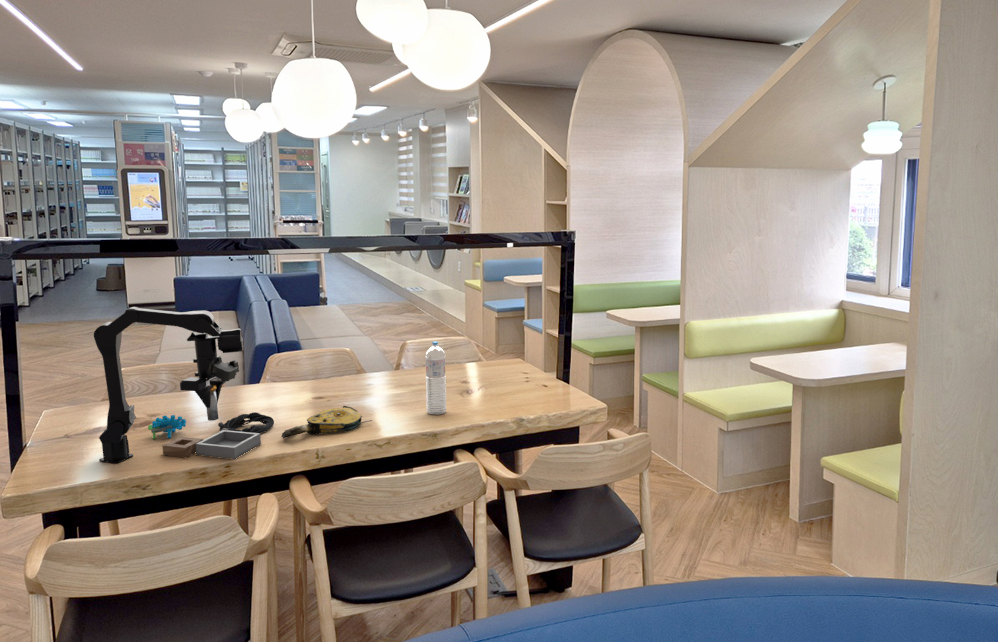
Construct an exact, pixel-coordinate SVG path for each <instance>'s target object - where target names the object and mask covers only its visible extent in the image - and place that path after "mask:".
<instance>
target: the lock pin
mask: <svg viewBox="0 0 998 642" xmlns="http://www.w3.org/2000/svg"><path fill="white" fill-rule="evenodd" d="M210 386H213V388H212V389H211V390H210V408H206V417H207V420H208V421H210V422H212V421H217V420H219V411H218V403H217V398H216V389H217V387H216V385H210Z"/></svg>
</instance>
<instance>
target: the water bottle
mask: <svg viewBox="0 0 998 642" xmlns="http://www.w3.org/2000/svg"><path fill="white" fill-rule="evenodd" d="M438 343H439V341H432V346H431V347H429V349H427V351H426V352H425V355H424V356H425V393H426V394H425V395H426V400H425V401H426V403H425V404H426V412H427V414H428V415H433V416H438V415H439V416H440V415H443V414H445V413H446V412H447V387H446V386H447V384H446V382H447V379H446V377H447V376H446V353H445V351H444V350H443V349H442V348H441V347H440V346H438V345H439V344H438Z"/></svg>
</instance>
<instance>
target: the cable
mask: <svg viewBox="0 0 998 642" xmlns="http://www.w3.org/2000/svg"><path fill="white" fill-rule="evenodd" d="M253 422H254V423H258V422H259V423H260V424H261V423H262V424H264V425H251V426H249V427H244V428H242V429H239V428H241V427H243V426H246V425H249V424H250V423H253ZM274 424H275V421H274V418H273V417H271V416H269V415H265V414H261V413H259V412H250V413H243V414H239V415H237V416H235V417H232V418H231V419H229V420H226V422H225V423H224V422H221V421H220V422H219V423H218V425H217V426H218V427H219V432H220V431H222V430H229V431H239V432H250V433H260V435H262V434H263V433H266V432H268V431H269V430H271V428H273V426H274Z"/></svg>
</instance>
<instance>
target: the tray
mask: <svg viewBox="0 0 998 642" xmlns="http://www.w3.org/2000/svg"><path fill="white" fill-rule="evenodd" d="M203 439H204V440H202V441H200V442H198V443H196V453H195V454H196V456H199V455H203V456H202V457H208V456H212V458H218V457H220V459H227V458H232V459H231V460H236V458H237V459H238V457H239V456H240V457H242V456H244V455H245V454H247V453H248V451H249V452H250V450H251V449H252V450H254V449H256V448H257V446H258V445H259V446H261V445H262V438H261V434H260V433H250V432H239V431H229V430H222V431H220V430H219V432H216V433H215V434H213V435H211V436H209V437H207V438H203ZM260 444H261V445H260ZM259 446H258V447H259ZM255 447H256V448H255ZM253 448H254V449H253ZM252 450H251V451H252ZM246 452H247V453H246ZM244 453H245V454H244ZM243 454H244V455H243ZM241 455H242V456H241ZM240 457H239V458H240Z"/></svg>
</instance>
